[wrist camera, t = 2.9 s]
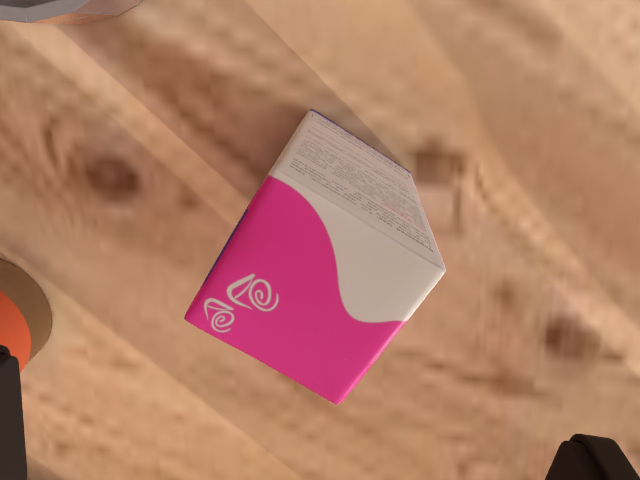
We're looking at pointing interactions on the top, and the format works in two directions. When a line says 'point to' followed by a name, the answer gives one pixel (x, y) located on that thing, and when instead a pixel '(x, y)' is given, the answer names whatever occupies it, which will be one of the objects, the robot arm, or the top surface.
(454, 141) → the top surface
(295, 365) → the supplement box
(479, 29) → the top surface
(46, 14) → the saucepan
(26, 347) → the tin can
